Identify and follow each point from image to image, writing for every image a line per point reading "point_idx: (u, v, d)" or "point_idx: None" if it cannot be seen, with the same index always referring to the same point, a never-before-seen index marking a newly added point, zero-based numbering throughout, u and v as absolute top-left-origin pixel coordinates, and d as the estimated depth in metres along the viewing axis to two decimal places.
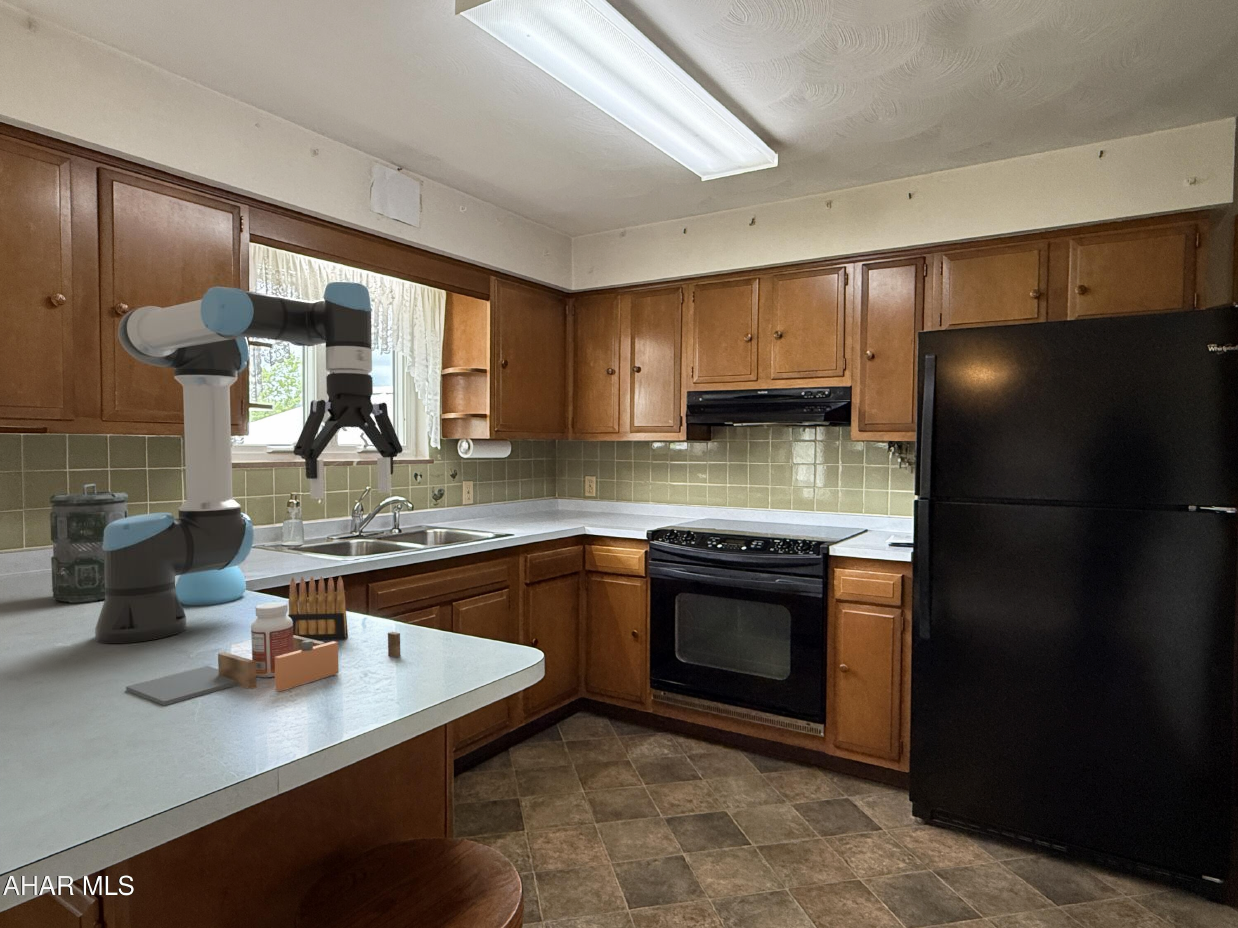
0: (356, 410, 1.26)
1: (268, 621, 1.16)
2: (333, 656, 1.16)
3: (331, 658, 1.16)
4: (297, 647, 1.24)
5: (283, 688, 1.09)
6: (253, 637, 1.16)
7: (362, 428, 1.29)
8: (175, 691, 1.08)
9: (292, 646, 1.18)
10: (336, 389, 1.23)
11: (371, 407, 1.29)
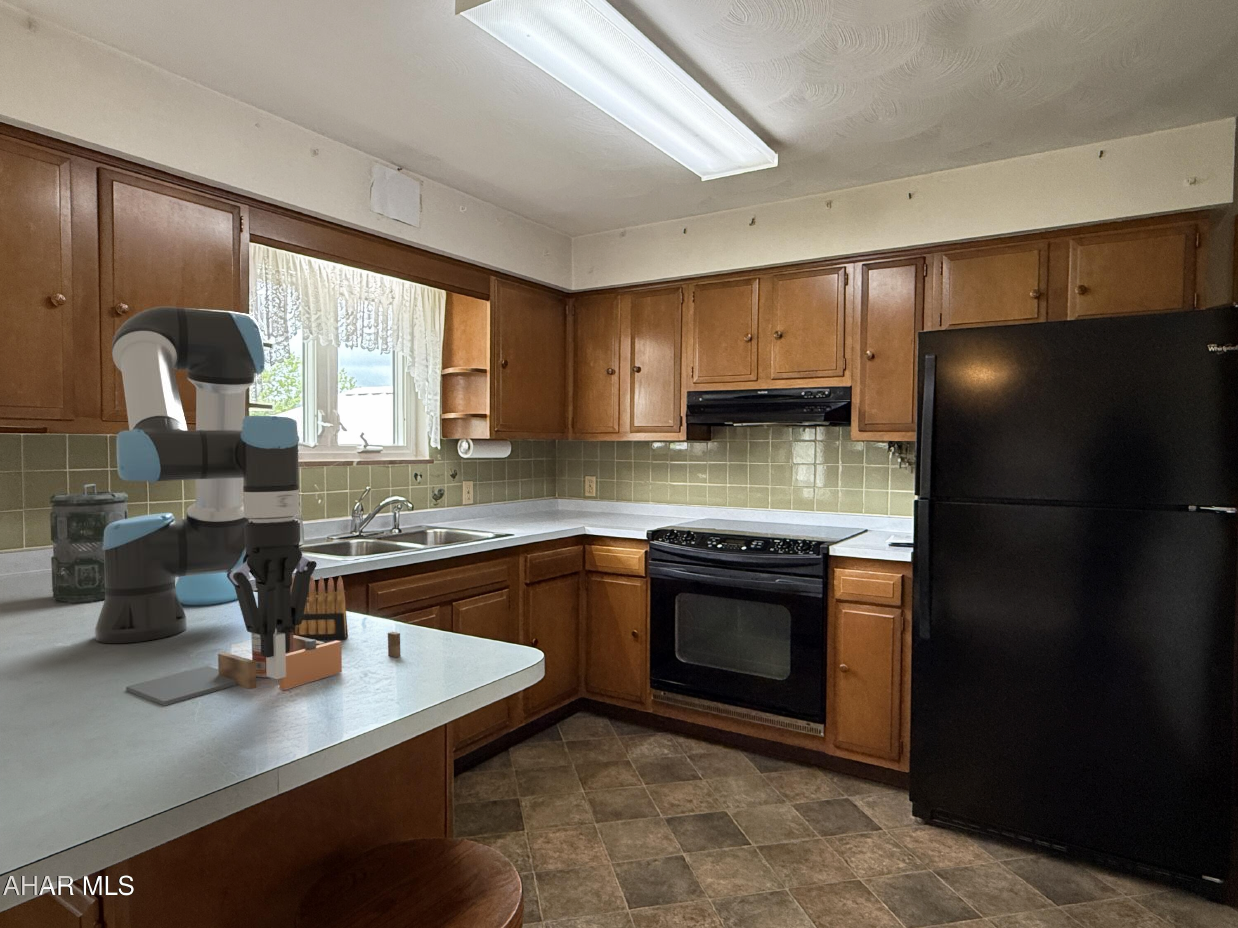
0: (281, 558, 1.08)
1: None
2: (336, 655, 1.17)
3: (334, 657, 1.16)
4: (297, 647, 1.24)
5: (287, 687, 1.10)
6: (253, 637, 1.16)
7: None
8: (175, 691, 1.08)
9: (292, 646, 1.18)
10: (254, 542, 1.04)
11: (298, 557, 1.10)
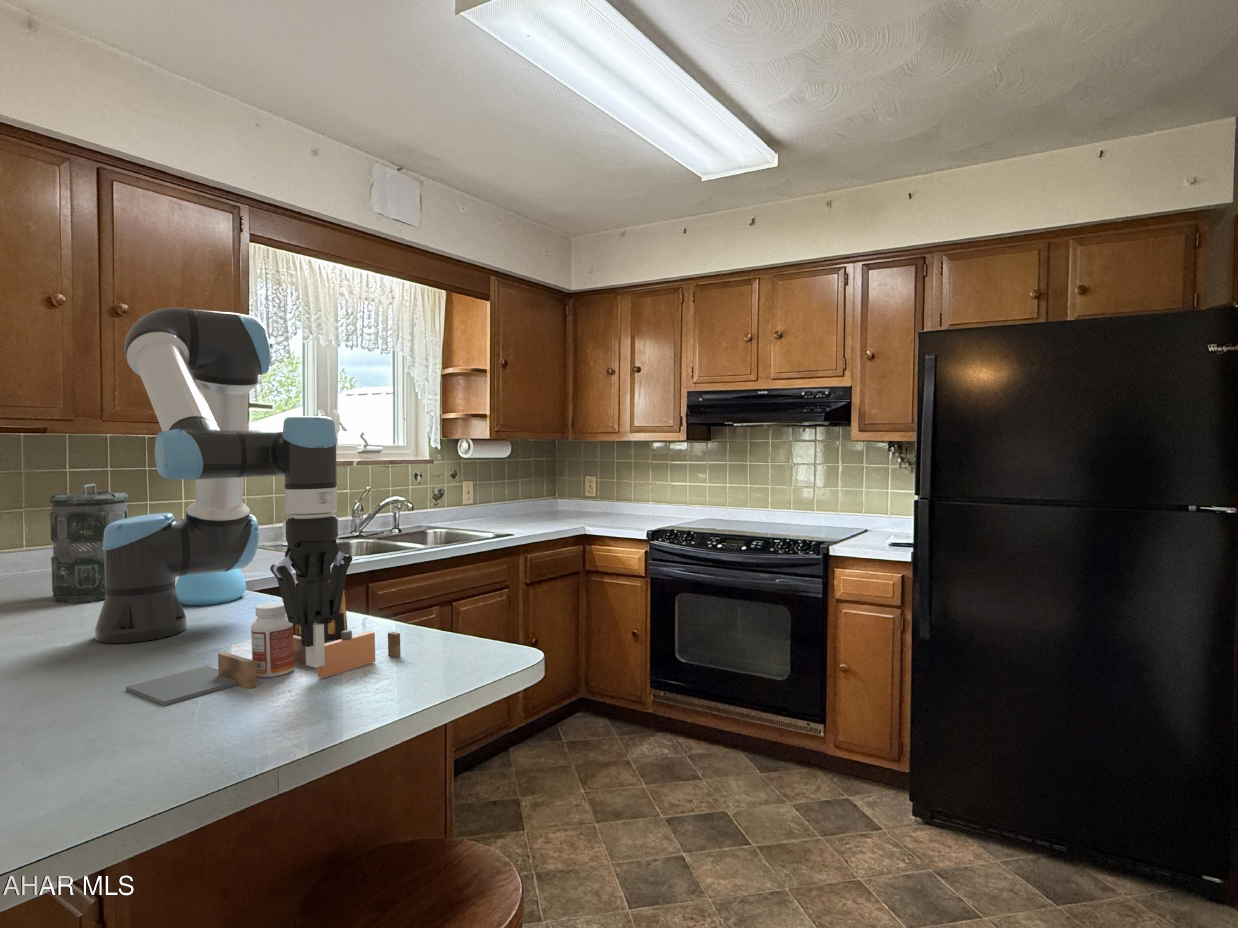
0: (320, 552, 1.13)
1: (268, 621, 1.16)
2: (370, 646, 1.22)
3: (368, 647, 1.22)
4: (297, 647, 1.24)
5: (325, 675, 1.15)
6: (253, 637, 1.16)
7: None
8: (175, 691, 1.08)
9: (292, 646, 1.18)
10: (296, 537, 1.10)
11: (336, 551, 1.16)
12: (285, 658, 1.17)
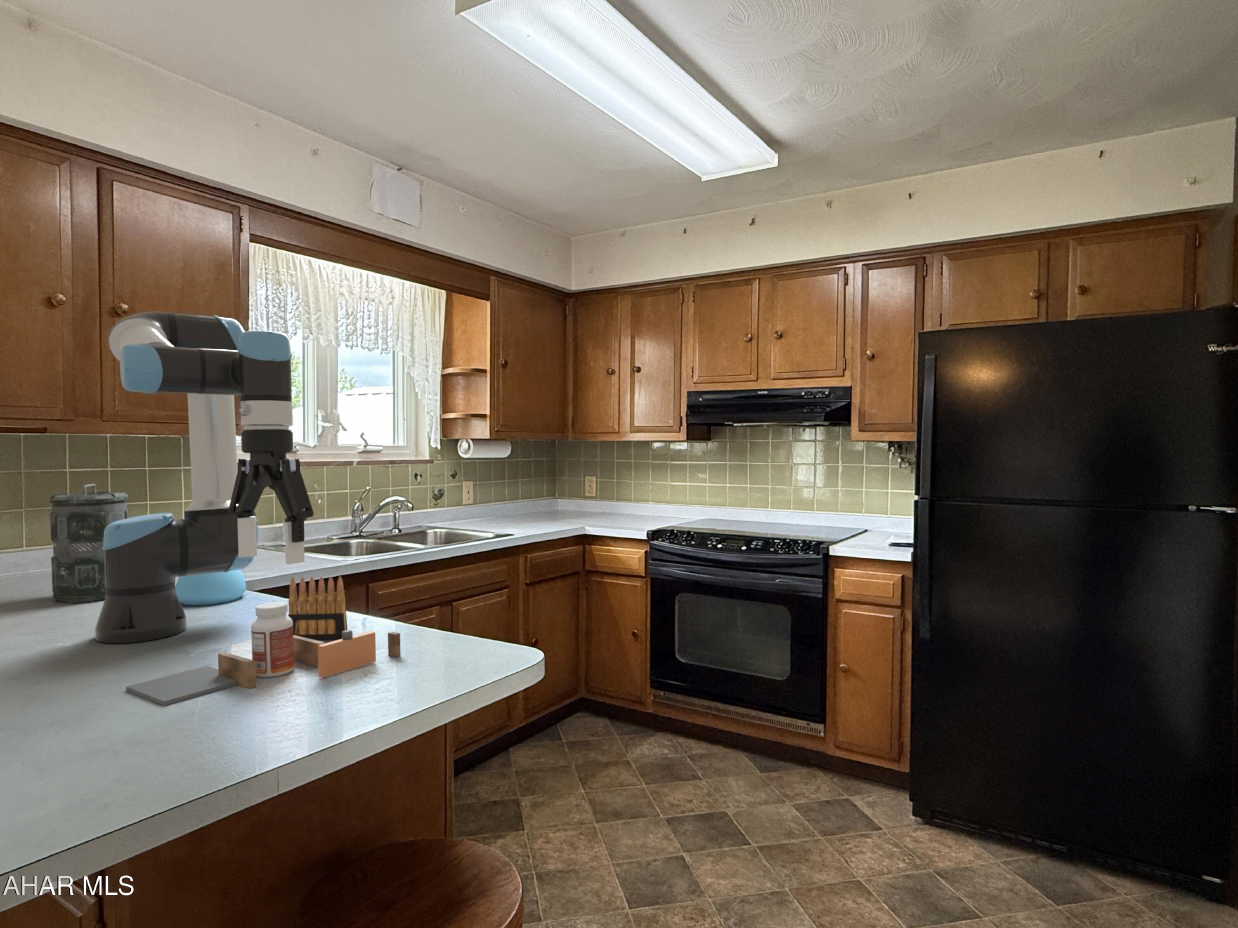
0: None
1: (268, 621, 1.16)
2: (371, 645, 1.22)
3: (369, 647, 1.22)
4: (297, 647, 1.24)
5: (326, 675, 1.15)
6: (253, 637, 1.16)
7: None
8: (175, 691, 1.08)
9: (292, 646, 1.18)
10: None
11: (274, 464, 1.14)
12: (285, 658, 1.17)
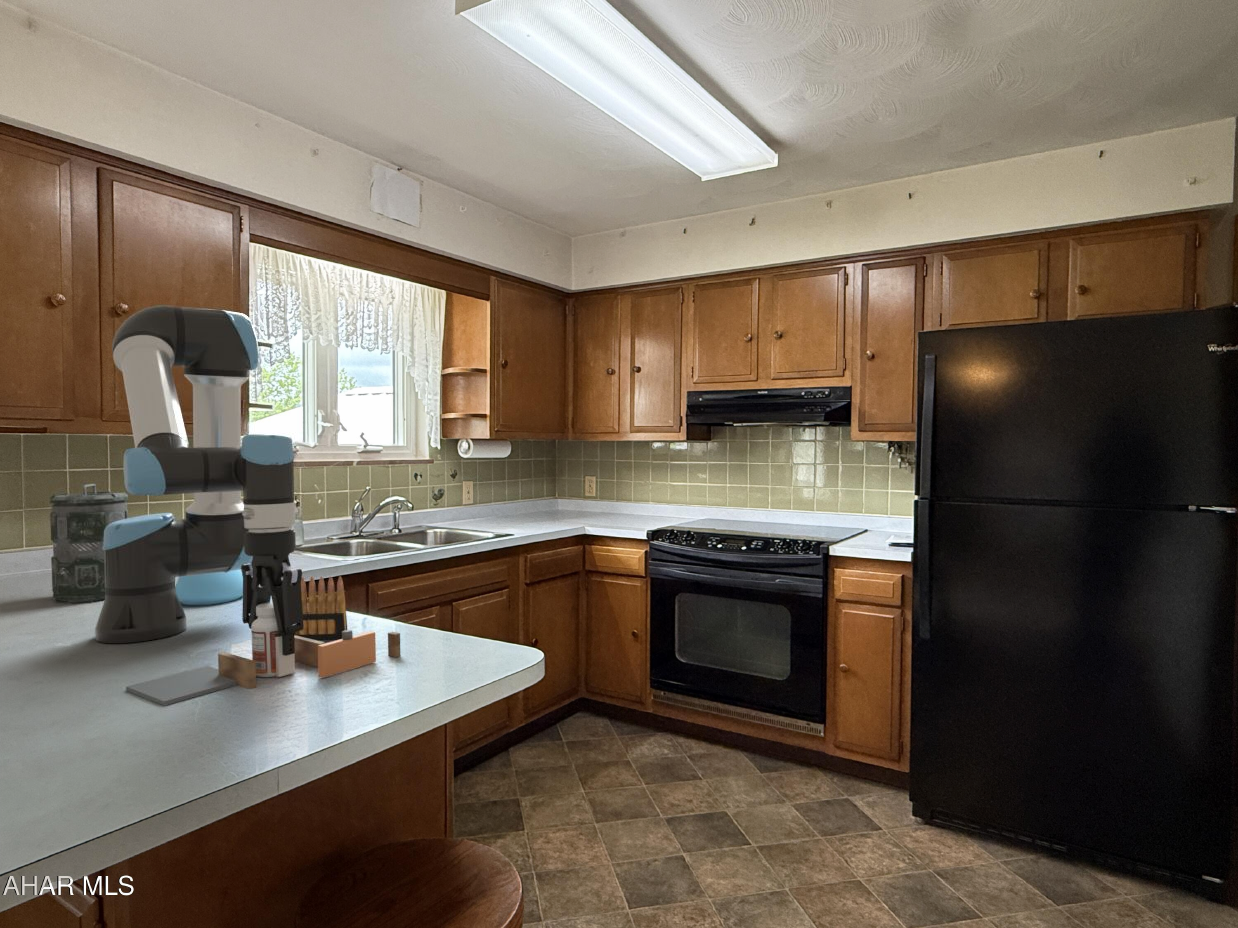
0: None
1: (268, 621, 1.16)
2: (371, 645, 1.22)
3: (369, 647, 1.22)
4: (297, 647, 1.24)
5: (326, 675, 1.15)
6: (253, 637, 1.16)
7: None
8: (175, 691, 1.08)
9: None
10: None
11: (277, 568, 1.15)
12: None
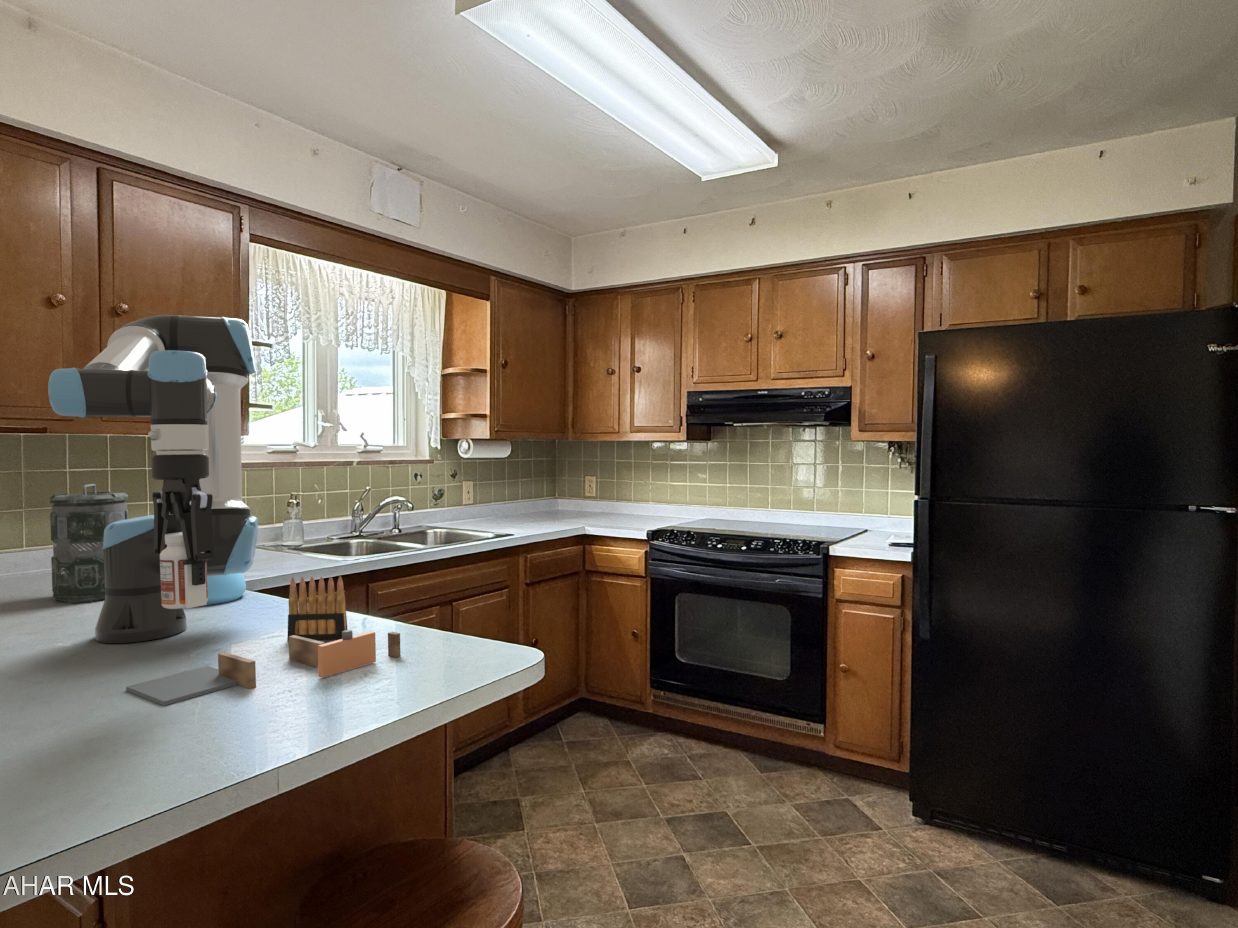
0: None
1: (177, 549, 1.09)
2: (371, 645, 1.22)
3: (369, 647, 1.22)
4: (297, 647, 1.24)
5: (326, 675, 1.15)
6: (161, 566, 1.09)
7: None
8: (175, 691, 1.08)
9: None
10: None
11: (185, 493, 1.08)
12: None
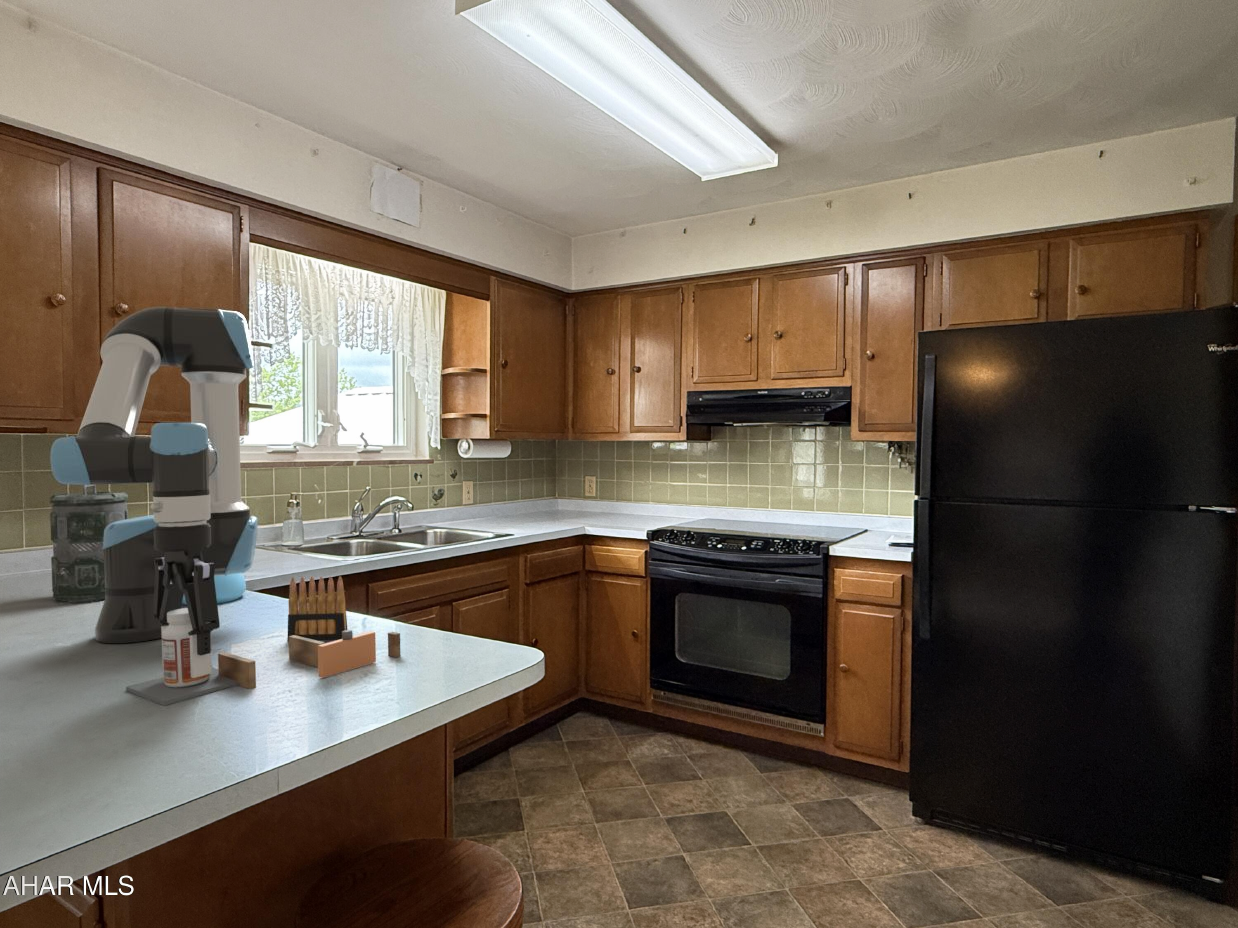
0: None
1: (179, 628, 1.09)
2: (371, 645, 1.22)
3: (369, 647, 1.22)
4: (297, 647, 1.24)
5: (326, 675, 1.15)
6: (163, 645, 1.09)
7: None
8: (175, 691, 1.08)
9: None
10: None
11: (187, 564, 1.09)
12: None
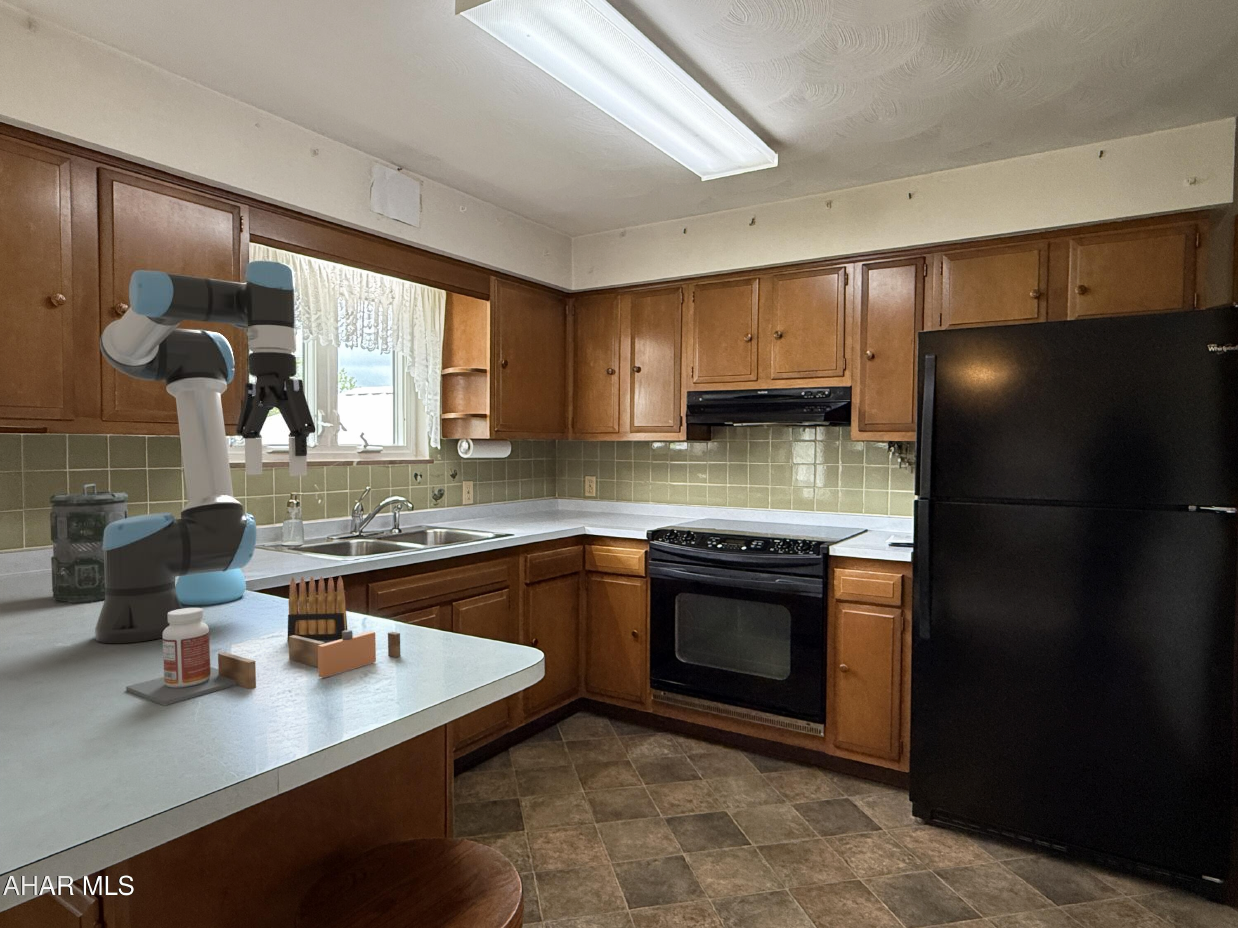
0: None
1: (179, 628, 1.09)
2: (371, 645, 1.22)
3: (369, 647, 1.22)
4: (297, 647, 1.24)
5: (326, 675, 1.15)
6: (164, 645, 1.09)
7: None
8: (175, 691, 1.08)
9: (207, 654, 1.12)
10: None
11: (279, 385, 1.24)
12: (199, 667, 1.11)
